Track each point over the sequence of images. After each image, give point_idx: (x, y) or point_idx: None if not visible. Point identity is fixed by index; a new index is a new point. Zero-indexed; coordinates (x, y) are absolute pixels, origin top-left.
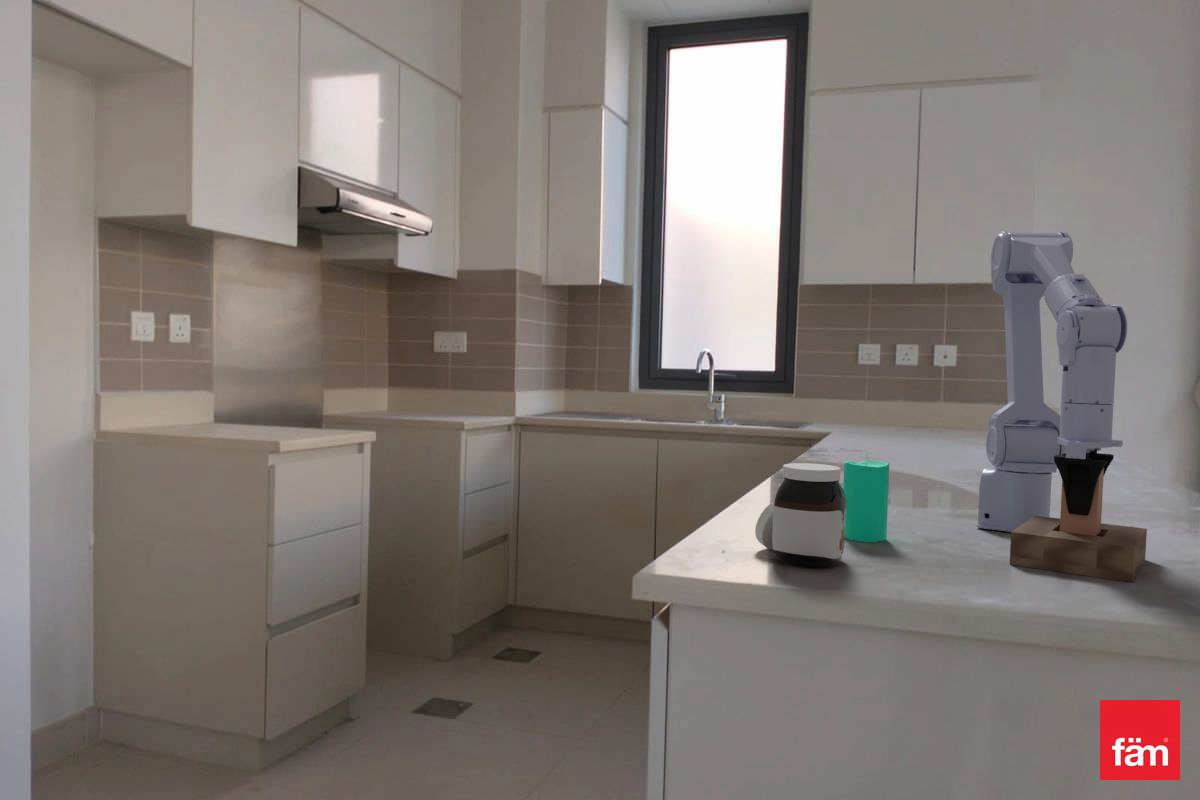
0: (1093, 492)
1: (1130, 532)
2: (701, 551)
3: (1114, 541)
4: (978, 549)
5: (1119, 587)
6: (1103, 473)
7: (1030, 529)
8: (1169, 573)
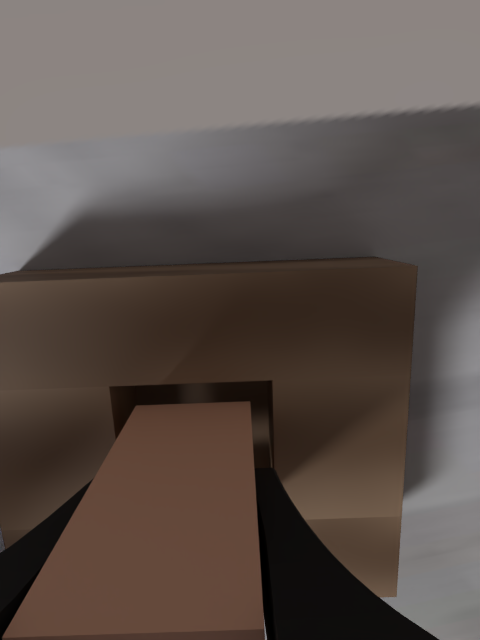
0: (300, 524)
1: (96, 320)
2: None
3: (339, 336)
4: None
5: (455, 276)
6: (35, 595)
7: None
8: (167, 189)
